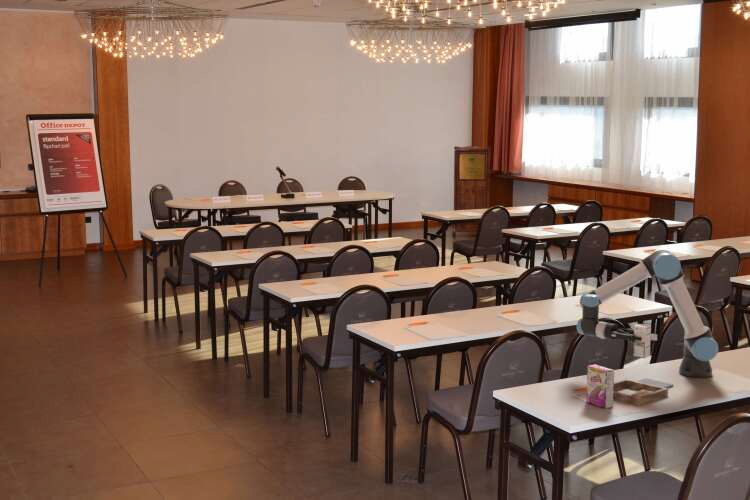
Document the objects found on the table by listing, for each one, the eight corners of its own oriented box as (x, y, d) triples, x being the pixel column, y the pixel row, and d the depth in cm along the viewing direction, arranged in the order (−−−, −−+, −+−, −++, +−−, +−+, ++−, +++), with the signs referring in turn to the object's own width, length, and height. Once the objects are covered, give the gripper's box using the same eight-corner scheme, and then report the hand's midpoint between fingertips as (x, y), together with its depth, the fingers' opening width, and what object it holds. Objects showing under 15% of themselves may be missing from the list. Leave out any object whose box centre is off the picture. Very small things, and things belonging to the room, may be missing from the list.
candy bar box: (585, 402, 392) (586, 365, 390) (593, 400, 395) (595, 363, 393) (605, 409, 383) (606, 371, 381) (613, 407, 385) (614, 369, 383)
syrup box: (650, 356, 413) (651, 324, 411) (644, 358, 408) (645, 326, 407) (638, 354, 417) (639, 323, 415) (632, 356, 412) (633, 325, 410)
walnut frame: (595, 395, 402) (596, 388, 402) (625, 386, 418) (625, 378, 417) (638, 406, 387) (639, 398, 386) (667, 396, 402) (668, 388, 401)
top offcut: (631, 396, 396) (631, 394, 396) (642, 392, 403) (642, 389, 403) (641, 399, 393) (641, 396, 393) (652, 394, 400) (652, 391, 400)
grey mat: (629, 385, 419) (629, 383, 419) (646, 380, 428) (646, 378, 428) (656, 392, 409) (656, 389, 408) (673, 386, 418) (673, 384, 418)
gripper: (618, 335, 431) (663, 343, 415) (596, 342, 419) (641, 350, 402) (619, 320, 430) (664, 327, 414) (596, 325, 418) (641, 333, 401)
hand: (652, 338), depth 408 cm, fingers closed on syrup box, 6 cm apart
